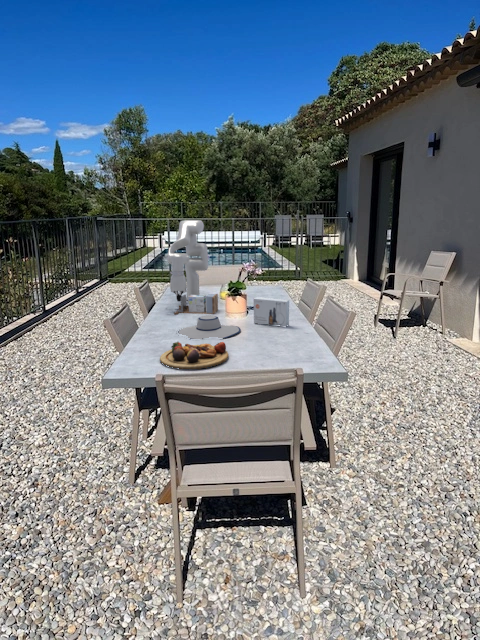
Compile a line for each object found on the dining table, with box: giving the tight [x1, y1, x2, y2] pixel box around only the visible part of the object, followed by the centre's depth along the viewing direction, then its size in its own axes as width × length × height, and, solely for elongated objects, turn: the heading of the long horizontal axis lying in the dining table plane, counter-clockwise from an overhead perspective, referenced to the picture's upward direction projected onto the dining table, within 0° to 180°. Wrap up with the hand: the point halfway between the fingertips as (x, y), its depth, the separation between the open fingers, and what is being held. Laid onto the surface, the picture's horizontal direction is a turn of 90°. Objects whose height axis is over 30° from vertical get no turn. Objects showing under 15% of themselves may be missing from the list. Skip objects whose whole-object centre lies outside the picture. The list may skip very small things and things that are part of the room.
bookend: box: [178, 294, 187, 312], centre depth 299 cm, size 9×4×10 cm, turn 171°
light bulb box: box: [187, 294, 207, 313], centre depth 297 cm, size 11×7×11 cm, turn 82°
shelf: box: [173, 293, 219, 315], centre depth 298 cm, size 12×27×12 cm, turn 81°
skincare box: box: [253, 296, 290, 326], centre depth 266 cm, size 21×5×16 cm, turn 64°
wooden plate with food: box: [159, 341, 229, 370], centre depth 209 cm, size 32×32×8 cm
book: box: [206, 293, 216, 313], centre depth 296 cm, size 9×5×11 cm, turn 171°
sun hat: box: [177, 314, 242, 340], centre depth 254 cm, size 36×36×9 cm
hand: (179, 300), depth 299 cm, fingers closed
